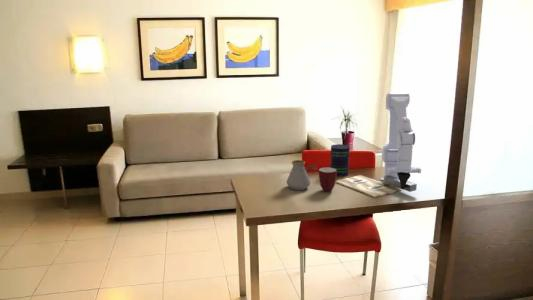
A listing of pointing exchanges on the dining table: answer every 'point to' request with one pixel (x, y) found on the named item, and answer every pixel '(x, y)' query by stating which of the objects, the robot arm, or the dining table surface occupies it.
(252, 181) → the dining table surface
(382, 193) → the label board
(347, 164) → the storage jar
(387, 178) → the grey square pillar
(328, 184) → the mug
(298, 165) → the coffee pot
